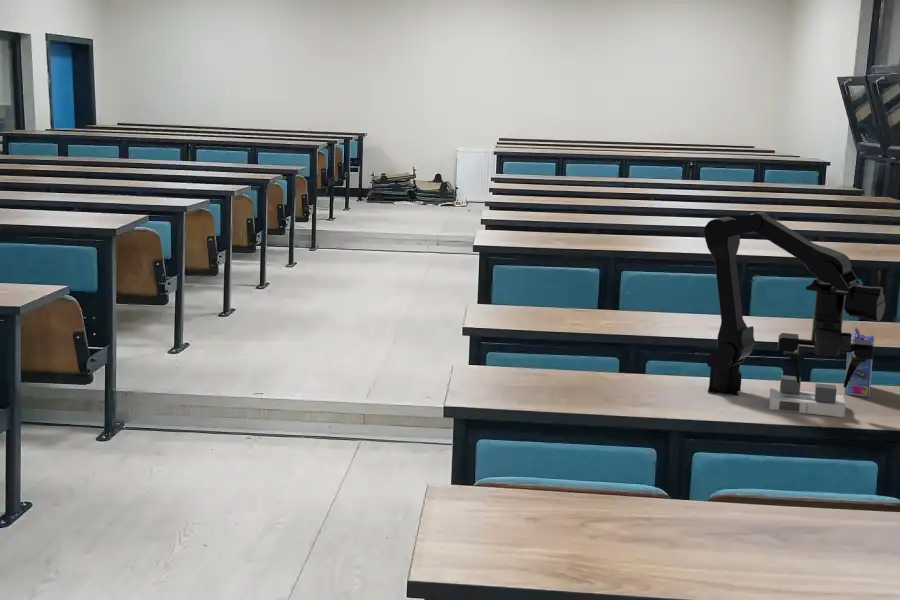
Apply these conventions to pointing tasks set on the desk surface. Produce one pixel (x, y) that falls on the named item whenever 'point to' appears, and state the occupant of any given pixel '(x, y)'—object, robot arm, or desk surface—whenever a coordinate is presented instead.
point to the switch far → (789, 384)
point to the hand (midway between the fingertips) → (821, 385)
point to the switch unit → (805, 403)
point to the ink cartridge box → (860, 372)
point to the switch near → (825, 393)
